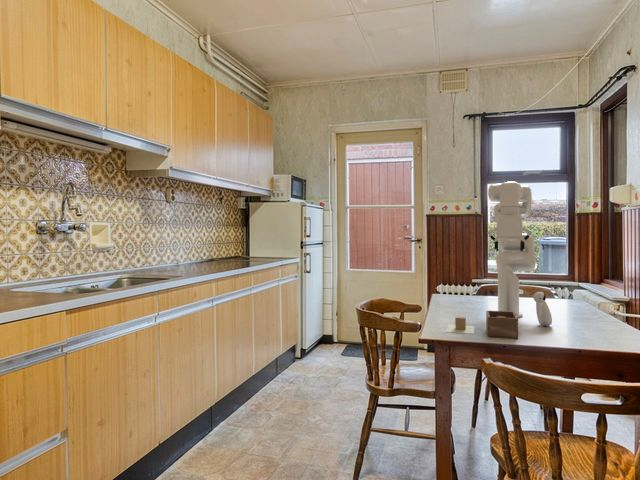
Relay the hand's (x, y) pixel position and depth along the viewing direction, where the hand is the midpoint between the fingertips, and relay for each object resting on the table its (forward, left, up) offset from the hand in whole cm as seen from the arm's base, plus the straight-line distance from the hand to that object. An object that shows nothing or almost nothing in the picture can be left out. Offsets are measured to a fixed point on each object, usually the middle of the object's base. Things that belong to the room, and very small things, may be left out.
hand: (509, 250), depth 184 cm
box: (+12, -4, -33) cm, 36 cm away
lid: (+8, -20, -34) cm, 40 cm away
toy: (-8, +14, -34) cm, 37 cm away
